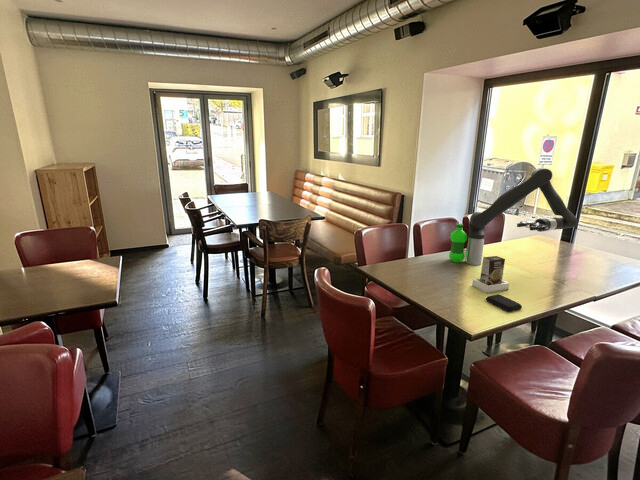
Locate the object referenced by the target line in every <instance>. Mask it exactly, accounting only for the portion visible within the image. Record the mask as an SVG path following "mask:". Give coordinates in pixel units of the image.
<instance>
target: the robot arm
mask: <svg viewBox="0 0 640 480" xmlns="http://www.w3.org/2000/svg"><path fill="white" fill-rule="evenodd" d="M552 179H553V172H552V170H551V169H549V168H546V167H538V168H535V169H534V170H533V171H532V173H531V176H530V177H529V178H528V179H526V180H525V181H523V182H522V183H520V184H518V185H515V186H514V187H512V188H510V189H508V190H507V191H505V192H504V193H502V194H501V195H500V196H499V197H497V199H495V200H494V201H493V203H492V204H491V205H490V206H489V207H488V208H486V209H484V210H483V211H482V212H480V211H477V212H473V213H472V214H471V215H470V217H469V218H470V219H469V225H468V226H469V227H468V239H467V241H468V242H467V247H466V249H465V257H464V262H466V264H468V265H472V266H479V265H482V262H483V254H484V253H483V252H484V247H485V246H484V245H485V237H486V236H485V235H486V232H485V228H486V226H488V224H489V223H490V222H492V221H493V220H495V219H496V218H497V217H499V216H500V215H501V214H503V213H504V212H506V211H508V210H509V209H511V208H512V207H514V206H516V204H518V203H520V202H521V201H522V200H523V199H525V198H526V197H527V196H528V195H530V194H531V193H533V192H534V191H536V190H538V189H539V190H540V191H541V193H542V195H543V196H544V198H545V200H546V202H547V204H548V206H549V207H550V209H551V211H552V213H553V214H554V215H555V216H560V217H545V218H544V217H542V218H537V219H536V220H535V221H529V220H525V221H524V220H523V221H522V220H521V221H520V222H518V223H517V224H516V227H517V228H527V229H529V230H530V231H537V232H549V231H550V232H551V231H555V230H564V229H571V228H575V227H576V226H577V225H578V219H577V217H576V216H575V214H574V213H572V212H571V211H570V210H569V209H568V208H567V206H566V204H565V202H564V200H563V199H562V197H561V196H560V194H559V193H558V192H557V191H556V189H555V188H554V186H553V185H552V182H551V181H552Z"/></svg>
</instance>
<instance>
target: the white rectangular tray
mask: <svg viewBox="0 0 640 480" xmlns="http://www.w3.org/2000/svg"><path fill="white" fill-rule="evenodd" d="M471 286H472V287H473V288H475V289H477V290H479V291H480V292H483V293H485V294H493V293H499V292H504V291H505V292H506V291H508V290H509V286H510V282H508V281H506V280H503V279H502V283H501V284H495V285H489V286H488V285H486V284H484V283H482V282H480V277H479V278H473V279H472V284H471Z"/></svg>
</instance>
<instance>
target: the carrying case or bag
mask: <svg viewBox="0 0 640 480" xmlns="http://www.w3.org/2000/svg"><path fill="white" fill-rule="evenodd" d="M485 300H486V302H487V303H489V304H491V305H493V306H495V307H497V308H499V309H501V310H503V311H504V312H507V313H511V312H512V313H513V312H516V311H520V310H521V309H523V306H522V304H521V303H519V302H517V301H514V300H512V299H511V298H508V297H506V296H504V295H502V294H499V293H497V294H493V295H487V297H485Z"/></svg>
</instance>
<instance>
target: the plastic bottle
mask: <svg viewBox="0 0 640 480" xmlns="http://www.w3.org/2000/svg"><path fill="white" fill-rule="evenodd" d="M455 226H456V229H455V230H454V231H452V232H451V233H450V240H451V247H450V252H449V255H448V256H449V259H450V261H452V262H453V263H461V262H462V261H463V260H465V257H466V255H465V252H464V251H465V243H466V242H467V241H468V235H467V233H466V232H465V231H464V230H463V228H464V223H463V224H462V223H456V225H455Z"/></svg>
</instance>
